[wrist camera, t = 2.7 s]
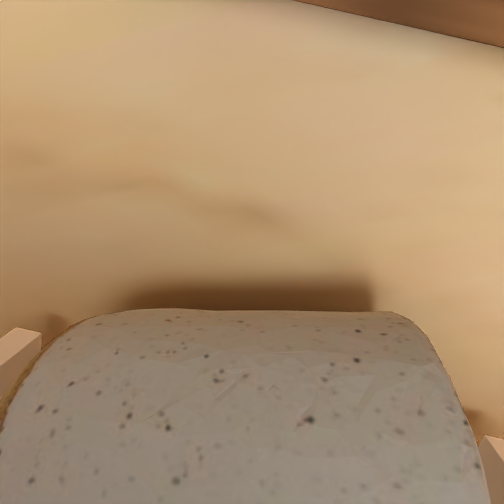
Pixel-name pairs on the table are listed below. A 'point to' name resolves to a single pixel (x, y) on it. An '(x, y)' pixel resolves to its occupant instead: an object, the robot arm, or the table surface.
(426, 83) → the table surface
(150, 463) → the ceramic mug
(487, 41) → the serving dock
